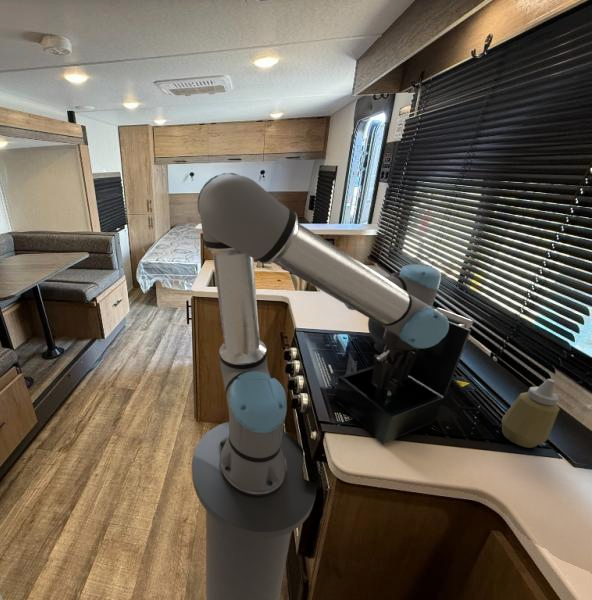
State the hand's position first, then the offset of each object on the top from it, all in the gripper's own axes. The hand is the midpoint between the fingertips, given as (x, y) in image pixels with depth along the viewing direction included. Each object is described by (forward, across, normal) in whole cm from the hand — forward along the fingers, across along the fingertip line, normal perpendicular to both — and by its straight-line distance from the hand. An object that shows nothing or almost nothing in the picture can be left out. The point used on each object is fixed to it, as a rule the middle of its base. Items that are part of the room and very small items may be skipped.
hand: (382, 403), depth 83 cm
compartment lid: (-16, +9, 0) cm, 18 cm away
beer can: (+1, 0, 0) cm, 1 cm away
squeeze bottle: (+3, +24, -19) cm, 31 cm away
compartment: (+3, +1, 0) cm, 3 cm away
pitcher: (+3, +29, +20) cm, 35 cm away
